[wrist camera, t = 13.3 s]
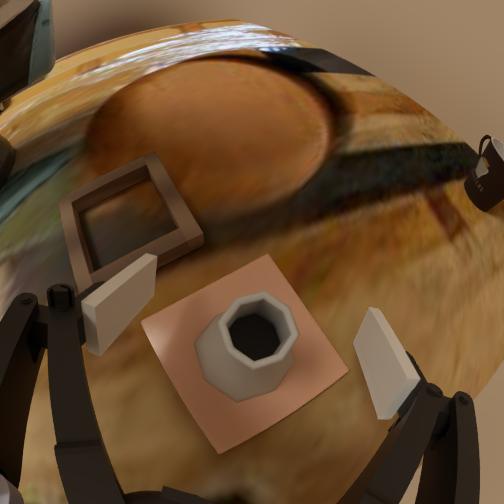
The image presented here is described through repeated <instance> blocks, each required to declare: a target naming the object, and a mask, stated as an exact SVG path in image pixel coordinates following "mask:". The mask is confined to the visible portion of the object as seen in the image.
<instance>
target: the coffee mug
mask: <svg viewBox="0 0 504 504" xmlns="http://www.w3.org/2000/svg"><path fill="white" fill-rule="evenodd" d="M486 139H490V141H489V143H488V145H487V147H486V149H485V150H484V152H483V154H482V155H481V152H482V145H483V142H484V141H485V140H486ZM464 187H465V190H466V193H467V195H468V196H469V198H470V199H471V201H472V202H473V203H474V204H475V205H476V206H477V207H478V208H479V209H480V210H482V211H488V210H489V209H491V208H492V207H493V206H495V205H496V204H498V203H499V202H500V201H502V200H503V199H504V143H502V142H501V141H500V140H498V139H497V138H495V137H490V136H489V135H485V136H484V137H483V138H482V139H481V142H480V146H479V160H478V162H477V164H476V165H475V167H474V168H473V170H472V172H471V173H470V175H469V176H468V178H467V179H466V181H465V182H464Z"/></svg>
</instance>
